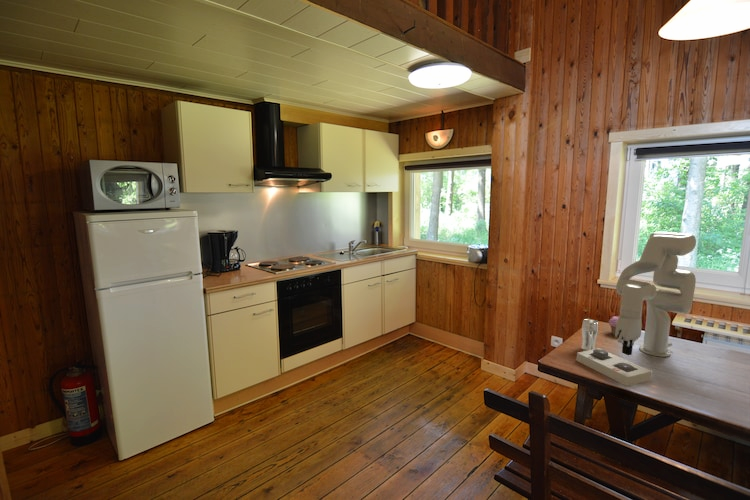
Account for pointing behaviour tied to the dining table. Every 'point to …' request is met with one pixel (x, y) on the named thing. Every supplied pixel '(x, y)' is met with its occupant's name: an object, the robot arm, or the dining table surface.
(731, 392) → the dining table surface
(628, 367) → the button marked
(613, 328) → the cupcake
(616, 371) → the button board
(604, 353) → the button plain
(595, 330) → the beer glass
